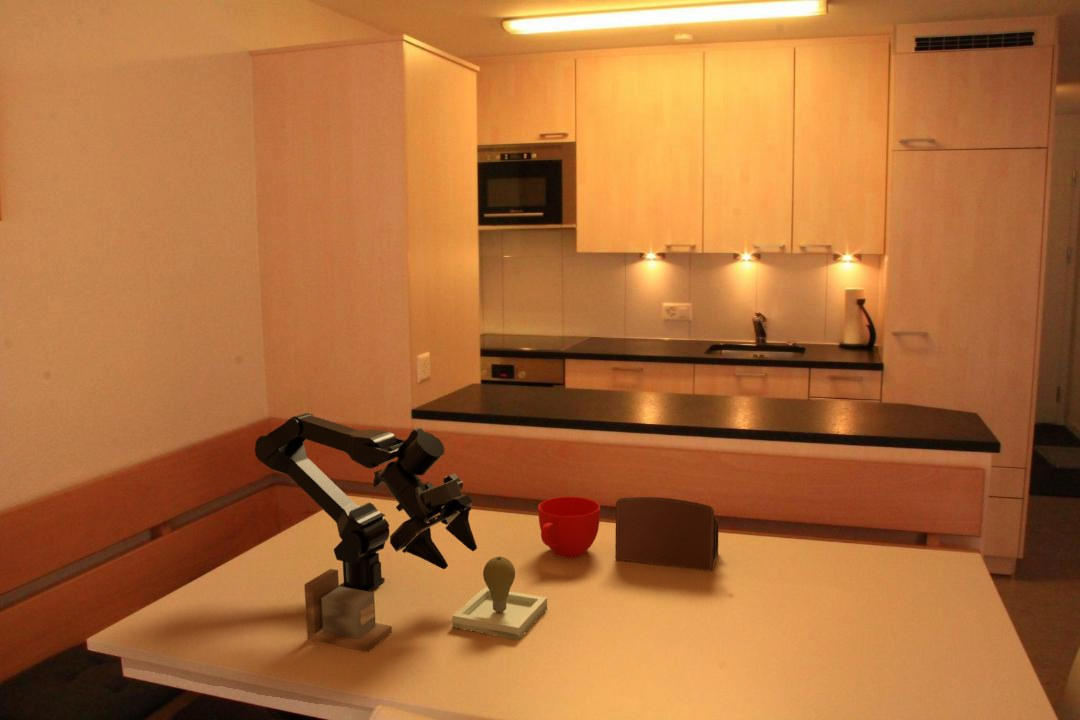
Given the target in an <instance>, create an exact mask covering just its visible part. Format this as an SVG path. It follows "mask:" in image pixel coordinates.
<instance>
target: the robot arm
mask: <svg viewBox="0 0 1080 720" xmlns="http://www.w3.org/2000/svg"><path fill="white" fill-rule="evenodd" d="M306 441H310V442H313V443H317V444H320V445H322V446H325V447H328V448H331V449H335V450H337V451H341V452H343V453H344V454H347V455H348V456H349V458H350V459H351V460H352V461H353V462H355V463H357V464H358V465H360V466H362V467H364V468H365V469H374V468H377V467H379V466H382V465H384V464H386V466H384V467H383V468H382V469H381V468H380V469H379V470H376V471H374V478H373V481H372V486H373V487H374V488H377V487H379V486H381V485H385V486H386V489H388V491H389V493H391V495H392V496H393V497H394V499H395V500H396V502H398V504H397V506H396V507H395V508H396V510H397V511H398V512H401V511H404V512H405V514H406V515H407V516H408V518H409V519H407V520H405V521H403V522H402V523H401V524H400V525H399V527H397V528H396V530H394V532H392V533H391V535H390V524H389V521H387V519H386V518H385V516H386V515H385V514H384V513H382V512H381V511H379V510H378V509H377V508H376V506H375V505H374V504H373V503H372V502H369V501H368V502H366V503H365V504H362V505H360V504H357V503H355V502H354V501H353V500H352V499H351V498H350V497H349V496H348V495H347V494H346V493H345V492H344V491H343V490H342V489H341V488H340V487H338V486H337V484H335V483H334V481H333V480H331V479H330V477H328V476H327V475H326V474H325V473H324V472H323V471H322V470H321V469H320V468H319V467H318V466H317V465H316V464H315V463H314V462H313V461H312V460H310V459H309V458H308V456H307V451H306V448H305V444H304V443H305V442H306ZM254 453H255V454H254V455H255V457H256V458H257V460H258V461H259V462H260V463H262V465H265V467H267V468H268V469H270V470H272V471H275V472H277V473H281V474H284V475H287V476H288V477H289V478H290V479H291V480H293V483H295V484H297V486H298V487H300V489H301V490H302V491H303V492H304V493H305V494H306V495H307V496H309V498H310V499H312V500H313V501H314V503H316V504H317V505H318V506H319V507H320V508H321V509H322V510H323V511H324V512H325V513H326V514H327V515H328V516H329V517H330V518H331V519H332V520H333V521H334V523H336V527H337V532H338V536H339V538H340V539H341V541H340V542H339V543H338V544H337V545H336V546H335V548H333V553H334V556H335V559H336V560H337V561H340V562H342V574H343V582H342V583H341V584H340V583H339V586H341V587H346V588H352V589H357V590H363V591H368V592H372V591H373V590H374V589H375V588H377V587H378V586H380V585H381V584H383V582H385V581H386V579H385V577H382V562H381V561H380V553H379V551H381V550H384V549H385V545H386V542H387V541H390V542H389V543H390V545H391V547H392V549H394V551H395V552H399V551H401V550H402V551H401V552H402V553H404V554H405V553H408V554H411V555H412V556H415V557H418V558H420V559H423V560H424V561H427V562H428V563H430V564H432V565H433V566H434V565H435V566H436V567H438V568H440V569H442V570H446V569H447V568H448V566H449V565H448V562H447V561H446V559H445V557H444V556H443V554H442V552H441V551H440V549H438V547H437V545H436V544H435V542H434V541H433V539H432V533H431V532H432V531H431V530H432V529H431V527H434V526H435V525H437V524H439V523H440V522H441V524H444V525H446V527H444V528H445V530H447V531H448V532H449V533H450V534H451V535H452V536H453V537H455V538H456V539H457V540H458V541H459V542H460V543H462V544H463V545H464V547H466V548H467V549H469V550H470V551H472V552H475V551H476V550H477V549H478V546H477V544H476V540H475V536H474V535H473V532H472V531H473V530H472V529H471V526H470V525H471V524H470V521H469V518H470V517H469V516H470V511H472V505H473V503H474V501H473V500H472V498H471V497H470V496H469V495H468V494H465V493H462V491H461V490H462V489H463V488H464V483H463V481H462V480H461V479H460V478H459V476H458V475H457V474H456V473H455V472H454V473H452V474H449V475H447V476H444V477H443V483H441V484H440V485H437V486H434V485H433V483H432V482H430V481H428V482H426V483H425V482H423V480H422V479H421V477H420V476H424V475H425V474H427V472H428V471H429V470H430V469H431V468H432V467H433V466H434V465H435V464H436V463H437V462H438V461H439V459H441V457H442V456H443V455H444V454H445V446H444V444H443V442H442V441H441V439H440V438H439V437H437V436H435V435H434V434H432V433H429V432H428V431H427V432H426V431H425V430H423V428H422V427H417V428H415V429H412V431H411V432H410V433H409V435H408V437H407V438H406V439H403V438H401V437H396V435H395V434H394V433H392V432H391V431H388V430H382V429H381V430H379V429H366V430H363V429H356V428H353V427H349V426H346V425H342V424H340V423H336V422H334V421H330V420H327V419H324V418H321V417H318V416H315V415H314V414H312V413H309V412H305V413H301V414H298V415H295V416H291V417H290V418H289V419H287V420H286V421H285V422H284V423H283V424H281V425H280V426H278V427H277V428H275V429H274V430H271V431H270V432H268V433H267V434H263V435H261V436H259V437H258V438H257V439H256V441H255V445H254ZM396 458H397V459H396ZM395 459H396V461H394V460H395ZM388 462H389V463H388ZM387 463H388V464H387ZM388 539H389V540H388Z"/></svg>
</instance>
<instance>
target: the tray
mask: <svg viewBox="0 0 1080 720" xmlns="http://www.w3.org/2000/svg"><path fill="white" fill-rule="evenodd" d="M546 609H547V610H548V597H547V596H540V595H534V594H527V593H522V592H516V591H510V590H509V595H508V598H507V599H506V610H504V611H503V612H502V613H497V612H496V611H494V610H493V601H492V598H491V595H490V591H489V589H488V587H487V586H486V587H483V588H482V589H481V590H480V591H478V593H477V594H475V595H474V596H473V597H472V598H471V599H469V601H467V602H465V604H464V605H463V606H462V607H460V608H459V609H458V610H457V611H456V612H454V613H453V614H452V616H451V617H452V623H451V624H452V628H453V627H455V628H454V629H457V628H461V629H460V630H462V629H465V630H464V631H467V630H472V631H476V632H475V633H478V632H480V633H479V634H483V633H485V634H484V635H488V634H489V636H493V635H495V636H494V637H499V636H500V638H504V637H506V639H509V638H510V639H511V640H515V641H520V640H521V638H522V637H523V636H525V634H526V633H527V632H528V631H529V630H530V629H531V627H532V626H533V625H534V624H535V623H536V622H537V621H538V620H539V619H540V618H541V617H542V616H543V614H544V613H545V612H546V611H547V610H546ZM545 610H546V611H545ZM544 611H545V612H544ZM543 612H544V613H543ZM542 613H543V614H542ZM540 616H541V617H540ZM539 617H540V618H539ZM538 618H539V619H538ZM537 619H538V620H537ZM536 620H537V621H536ZM535 621H536V622H535ZM534 622H535V623H534ZM533 623H534V624H533ZM532 624H533V625H532ZM530 626H531V627H530ZM529 628H530V629H529ZM528 629H529V630H528ZM527 630H528V631H527ZM472 631H471V632H472ZM526 631H527V632H526ZM525 632H526V633H525ZM524 633H525V634H524ZM519 639H520V640H519Z"/></svg>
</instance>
